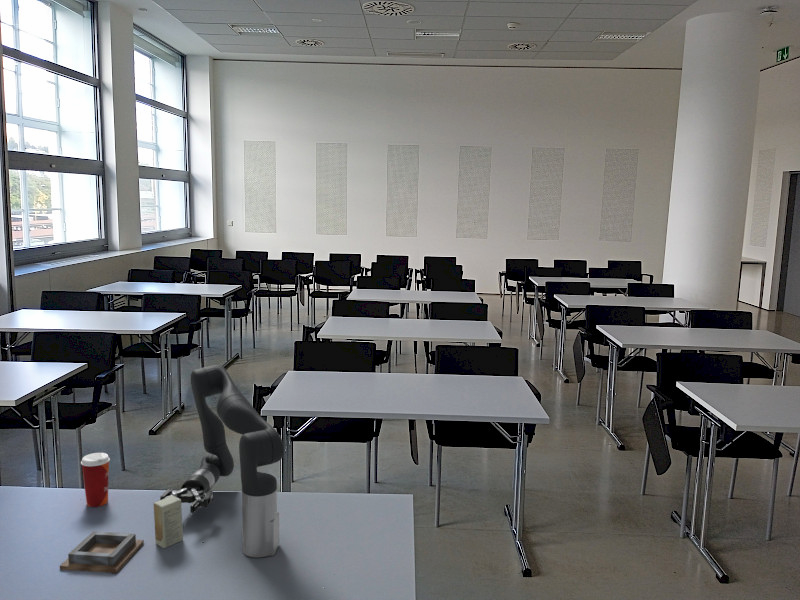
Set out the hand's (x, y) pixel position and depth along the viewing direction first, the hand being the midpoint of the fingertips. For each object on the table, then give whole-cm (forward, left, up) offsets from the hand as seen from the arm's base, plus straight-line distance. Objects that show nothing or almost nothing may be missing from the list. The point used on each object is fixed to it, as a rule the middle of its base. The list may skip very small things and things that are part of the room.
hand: (176, 508), depth 189 cm
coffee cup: (+32, -15, -7) cm, 36 cm away
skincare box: (0, +6, -7) cm, 9 cm away
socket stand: (+14, +15, -7) cm, 22 cm away
